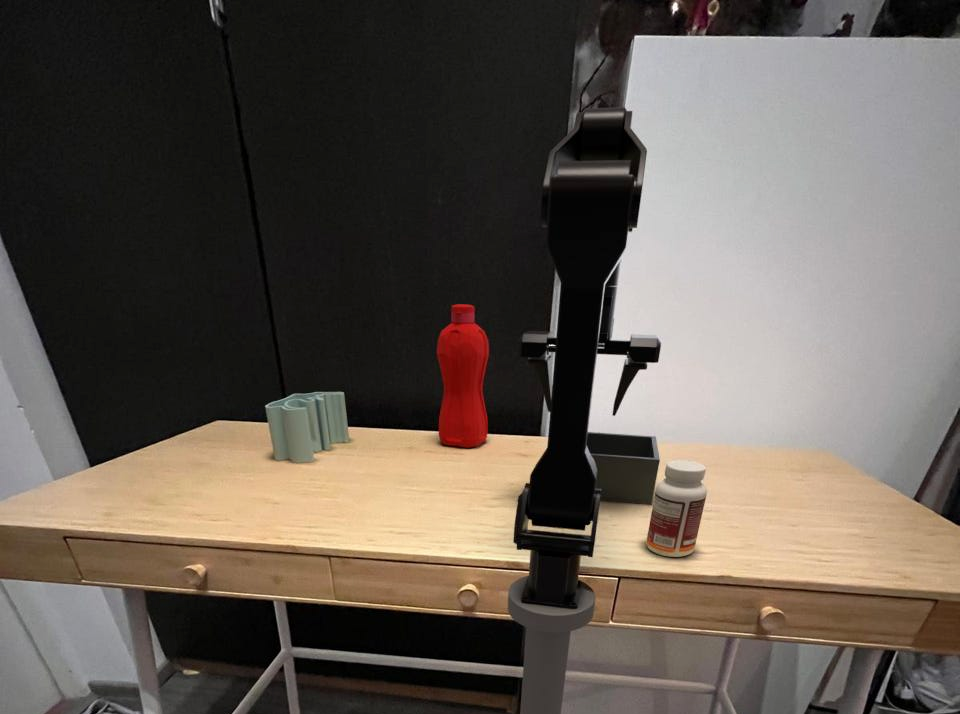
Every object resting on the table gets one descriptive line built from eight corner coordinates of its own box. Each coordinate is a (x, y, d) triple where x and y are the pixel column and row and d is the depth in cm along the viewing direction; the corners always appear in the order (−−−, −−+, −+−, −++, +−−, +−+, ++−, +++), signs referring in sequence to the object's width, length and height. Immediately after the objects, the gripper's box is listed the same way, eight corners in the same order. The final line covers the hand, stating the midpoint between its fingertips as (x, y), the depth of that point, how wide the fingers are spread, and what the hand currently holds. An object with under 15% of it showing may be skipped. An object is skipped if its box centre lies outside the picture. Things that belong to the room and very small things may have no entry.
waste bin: (651, 504, 89) (659, 459, 85) (558, 496, 91) (562, 452, 88) (648, 476, 101) (655, 436, 97) (566, 470, 103) (570, 430, 99)
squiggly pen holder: (306, 437, 121) (299, 390, 115) (351, 439, 119) (346, 392, 114) (268, 461, 106) (257, 408, 101) (318, 464, 105) (310, 410, 99)
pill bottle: (684, 539, 78) (702, 458, 72) (700, 558, 73) (721, 473, 66) (639, 539, 77) (654, 458, 71) (652, 558, 72) (669, 472, 66)
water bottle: (494, 438, 122) (498, 303, 108) (475, 450, 114) (476, 306, 100) (455, 433, 125) (454, 302, 111) (433, 445, 116) (429, 304, 103)
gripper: (666, 286, 78) (646, 406, 87) (532, 283, 81) (525, 399, 90) (671, 288, 69) (648, 422, 78) (520, 285, 72) (514, 413, 81)
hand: (581, 413), depth 82 cm, fingers open, 9 cm apart
